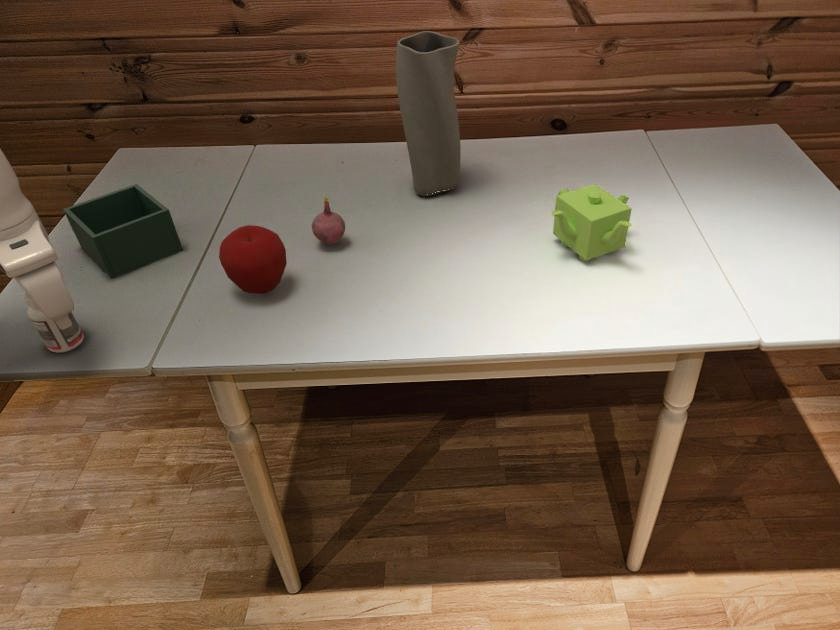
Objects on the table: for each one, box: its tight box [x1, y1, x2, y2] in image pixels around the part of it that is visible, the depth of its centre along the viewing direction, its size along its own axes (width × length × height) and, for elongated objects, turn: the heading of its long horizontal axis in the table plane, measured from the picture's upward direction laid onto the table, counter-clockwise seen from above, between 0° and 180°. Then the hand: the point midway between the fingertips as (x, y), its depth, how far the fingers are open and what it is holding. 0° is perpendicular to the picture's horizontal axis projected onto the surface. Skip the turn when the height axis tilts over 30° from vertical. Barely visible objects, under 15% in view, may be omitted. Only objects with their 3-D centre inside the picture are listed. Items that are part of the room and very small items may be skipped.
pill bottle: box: [23, 292, 85, 354], centre depth 101 cm, size 5×5×10 cm
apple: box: [218, 224, 287, 295], centre depth 111 cm, size 11×11×12 cm
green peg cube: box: [550, 183, 632, 262], centre depth 122 cm, size 15×14×11 cm
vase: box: [395, 30, 462, 197], centre depth 132 cm, size 12×12×30 cm
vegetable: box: [311, 195, 346, 245], centre depth 122 cm, size 6×6×10 cm
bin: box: [62, 183, 184, 280], centre depth 121 cm, size 14×14×9 cm
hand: (53, 312), depth 101 cm, fingers open, 8 cm apart
